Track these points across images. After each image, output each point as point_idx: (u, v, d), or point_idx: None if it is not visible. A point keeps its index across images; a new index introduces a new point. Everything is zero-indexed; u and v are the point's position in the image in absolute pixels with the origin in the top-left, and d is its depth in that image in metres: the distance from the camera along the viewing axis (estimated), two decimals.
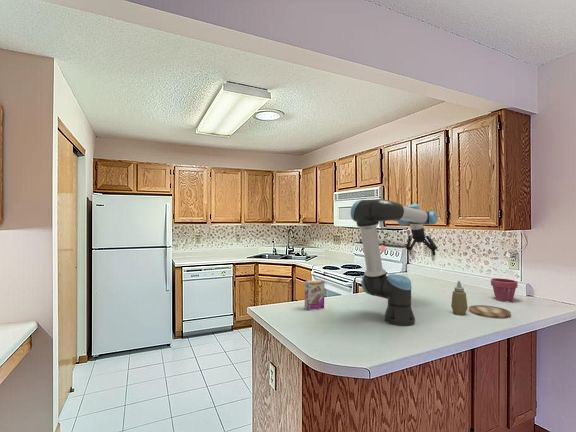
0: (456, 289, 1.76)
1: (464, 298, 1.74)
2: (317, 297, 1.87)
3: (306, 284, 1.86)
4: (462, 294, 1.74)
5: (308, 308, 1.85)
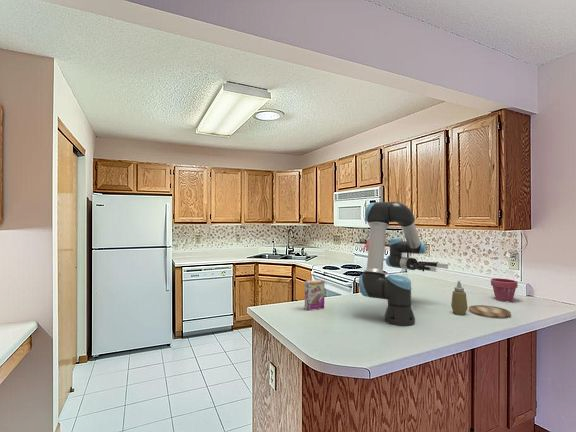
0: (456, 289, 1.76)
1: (464, 298, 1.74)
2: (317, 297, 1.87)
3: (306, 284, 1.86)
4: (462, 294, 1.74)
5: (308, 308, 1.85)
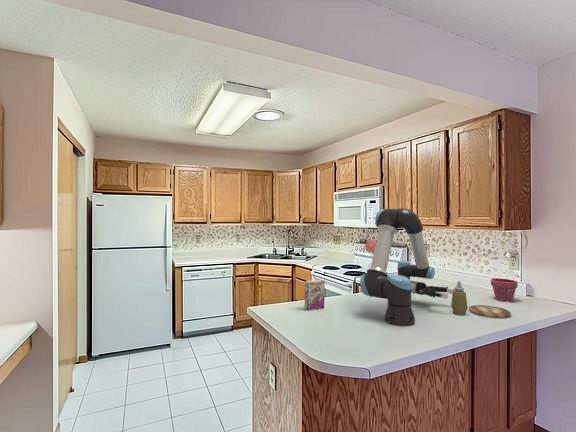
0: (456, 289, 1.76)
1: (464, 298, 1.74)
2: (317, 297, 1.87)
3: (306, 284, 1.86)
4: (462, 294, 1.74)
5: (308, 308, 1.85)
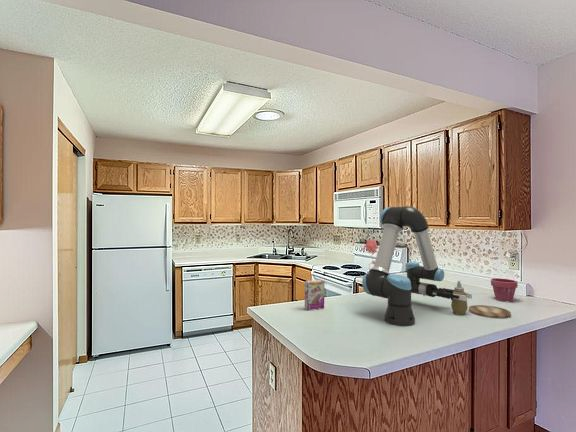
0: (456, 289, 1.76)
1: None
2: (317, 297, 1.87)
3: (306, 284, 1.86)
4: (462, 294, 1.74)
5: (308, 308, 1.85)
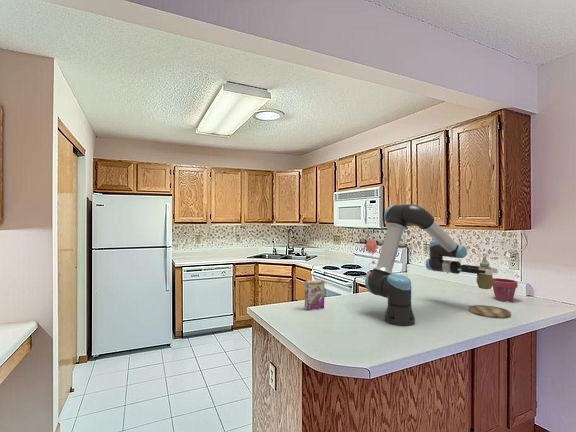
0: (482, 264, 1.77)
1: None
2: (317, 297, 1.87)
3: (306, 284, 1.86)
4: (488, 269, 1.75)
5: (308, 308, 1.85)
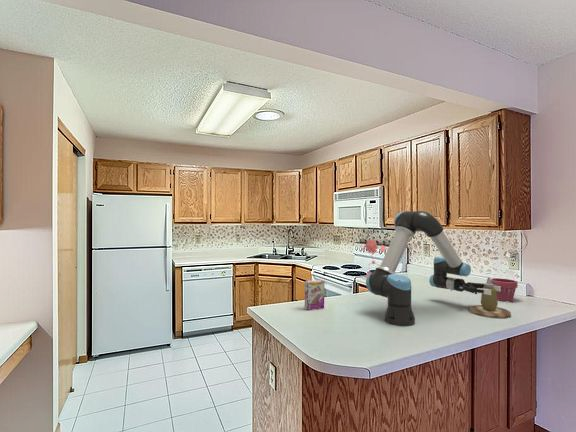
0: (486, 285, 1.77)
1: (494, 294, 1.75)
2: (317, 297, 1.87)
3: (306, 284, 1.86)
4: (492, 290, 1.75)
5: (308, 308, 1.85)
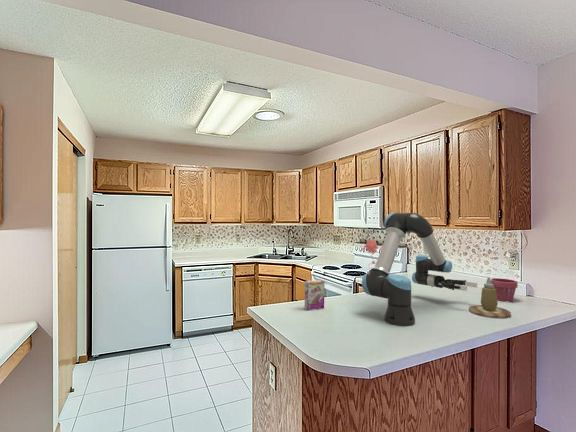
0: (486, 285, 1.77)
1: (494, 294, 1.75)
2: (317, 297, 1.87)
3: (306, 284, 1.86)
4: (492, 290, 1.75)
5: (308, 308, 1.85)
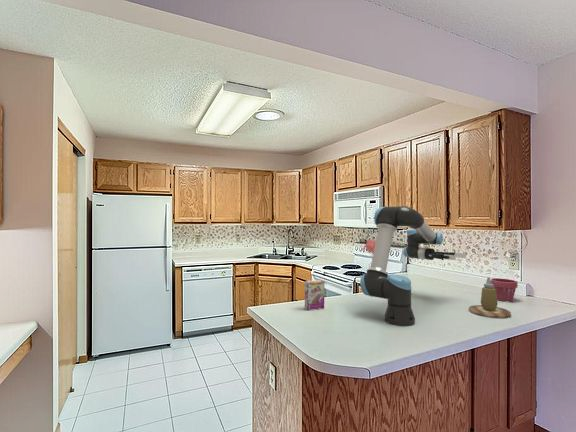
0: (486, 285, 1.77)
1: (494, 294, 1.75)
2: (317, 297, 1.87)
3: (306, 284, 1.86)
4: (492, 290, 1.75)
5: (308, 308, 1.85)
